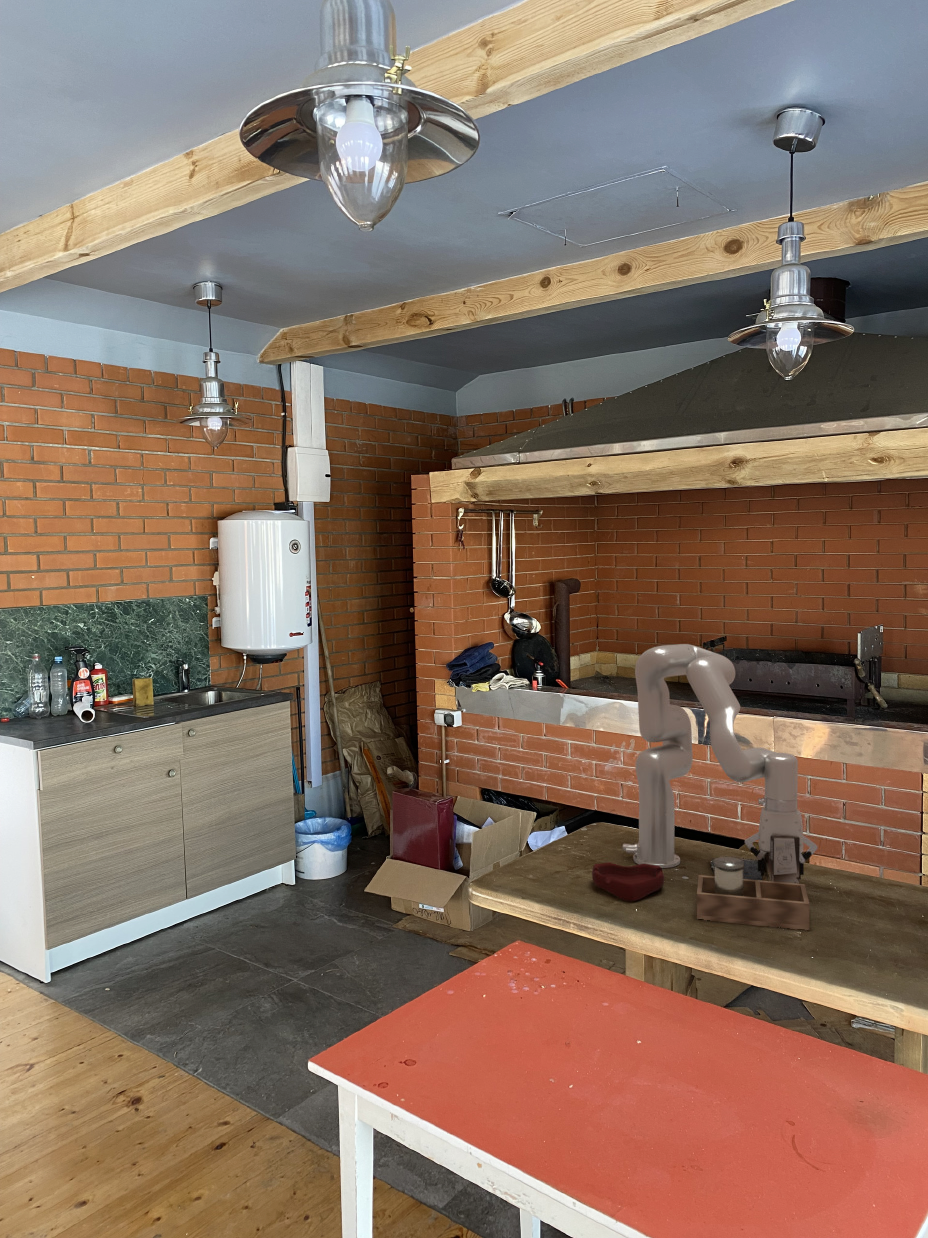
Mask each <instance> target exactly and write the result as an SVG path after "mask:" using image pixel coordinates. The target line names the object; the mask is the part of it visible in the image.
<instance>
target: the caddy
mask: <svg viewBox="0 0 928 1238" xmlns="http://www.w3.org/2000/svg"><path fill="white" fill-rule="evenodd" d="M697 880H698V881H697V889H696V920H697V919H704V920H703V921H707V920H710V921H709V922H717V921H718V923H719V922H720V923H729V924H739V925H749V926H759V927H767V926H769V927H768V928H777V927H781V928H780V929H787V928H790V930H797V929H805V930H804V931H807V930H809V931H810V901H809V896H808V892H807V889H806V884H804V883H799V884H796V883H784V882H773V881H762V879H761V880H760V879H746V878H743V896H734V895H723V894H715V875H714V876H713V875H712V876H711V875H702V874H701V875H700V874H699V875H698V879H697Z"/></svg>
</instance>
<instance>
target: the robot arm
mask: <svg viewBox="0 0 928 1238" xmlns="http://www.w3.org/2000/svg"><path fill="white" fill-rule="evenodd" d="M634 670H635V671H634V674H635V675H634V676H635V682H636V689H637V709H638V710H637V711H638V727H639V728H638V729H639V733H640V736H641V738H642V739H643V740H644V741H646V742H647V743H648V742H649V743H660V742H662V745H657V746H654V747H649V748H646V749H644V750H642V751H641V752H640V753H639V754H638V756H637V757H636V760H635V766H634V767H635V774H636V779H637V785H638V842H637V843H634V844H630V843H622V851H624V852H625V853H629V854H633V856H632V857H633V862H634V863H636V865H639V864H650V865H657V866H660V867H661V868H662V869H668V868H669V869H670V868H674V867H677V866H678V865H680V864H681V858H680V856H679V855H678V854H676V853H675V795H674V791H673V789H672V786H671V782H670V781H671V780H674V779H677V778H678V779H679V778H682V777H684V776H686V775H688V773H690V771H691V768H692V766H693V761H694V760H693V738H692V737H693V736H692V735H693V734H692V723H691V718H690V716H689V714H688V713H687V711H686V710H685V709H684V708H683V707H681V706H680V705H678V704H677V705H676V704H671V703H670V690H669V687H668V685H667V682H666V680H665V678H668V677H677V676H686V678H687V681H688V683H689V685H690V687H691V689H692V691H693V692H694V694H695V695H696V696H695V697H696V698H697V700H698V701H699V703H700V705H701V706H702V708H703V711H704V712H705V714H706V716H707V718H708V720H709V737H710V744H711V749H712V752H713V755H714V757H715V758H716V759H717V761H718V763H719V766H720V767H721V769H722V770H723V772H724V773H725V775H726V776H727V777H728V778H729V779H731V780H732V781H733V782H736V783H747V782H750V781H755V780H759V779H764V797H762V798H758V805H762V806H763V807H762V808H761V811H760V816H759V824H758V831H757V832H756V833H754V834H752V835H751V836H749V837H746V838H745V840H744V844H745V845H746V847H747V848H748V850H749V851H750V852H751V853H752V855H753V856H754V857H755V858H756V860H757V872H760V873H759V874H760V877H762V876H764V858H763V856H764V855H765V853H766V852H770V837H771V836H792V837H799V838H800V852H799V880H802V877H801V876H804V873H805V872H804V871H805V870H804V869H805V867H804V865H805V863H806V861H808V860H809V859H810V858H811V857H812V855H813V854H814V853H815V852H816V851H817V849H818V845H817V844H816V843H815V842H813V841H812V840H811V839H809V838H808V837H807V836H805V835H804V827H803V824H804V823H803V818H802V813H801V810H799V809H798V800H799V799H798V791H799V790H798V788H799V786H798V785H799V784H798V782H799V781H798V780H799V773H798V772H799V762H798V761H799V760H798V759H797V757H796V756H795V755H794V754H791V753H786V752H778V751H777V752H776V751H773V750H769V749H767V748H763V747H757V746H756V747H751V748H746V749H742V746H741V745H740V744H739V741H738V740H737V738H736V735H735V730H734V724H735V719H736V718H737V716H738V714H739V713H740V710H741V705H740V703H739V700H738V699H737V696H736V695H735V693H734V692H733V690H732V688H731V687H730V685H731V684H732V683H733V682H734V680H735V678H736V668H735V665H734V664H733V662H732V661H731V660H730V659H729V658H727V657H726V656H724V655H721V654H720V653H717V652H713V651H710V650H707V649H704V648H702V647H699V646H696V645H692V644H689V643H683V644H682V643H679V644H667V645H666V644H665V645H657V646H654V647H652V648H651V647H650V648H649V649H646V650H645V651H644V652H643V653H642V654H641V655H640V656H639V657H638V659H637V661H636V664H635V669H634ZM756 841H758V846H759V849H758V848H757V847H755V845H754V844H753V843H754V842H756ZM804 845H806V846H807V847H809V848H808V849H807V850H806V851H804Z"/></svg>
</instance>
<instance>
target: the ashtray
mask: <svg viewBox="0 0 928 1238" xmlns="http://www.w3.org/2000/svg"><path fill="white" fill-rule="evenodd" d="M591 877H592V883H594V885H595V886H596V887H597V888H599V889H601V890H604V891H605V892H608V893H609V894H612V895H614V896H615V897H617V898H619V899H621V900H623V901H625V900H626V901H625V902H629V901H633V902H636V900H637V901H640V900H641V899H643V898H645V897H647V896H648V895H650V894H652V893H654V892H657V891H659V890H660V889H661V888H662V887H663V885H664V883H665V875H664V870H663V868H661V867H660V866H657V865H650V864H635V865H632V866H625V865H619V864H616V863H613V862H603V863H595V864H593V866H592V871H591Z"/></svg>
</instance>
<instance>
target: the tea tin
mask: <svg viewBox="0 0 928 1238" xmlns="http://www.w3.org/2000/svg"><path fill="white" fill-rule="evenodd" d="M713 866H714V877H715V894H723V895H734V896H743V879H744V869H745V861H744V860H743V859H740V858H737V857H733V856H732V857H731V856H720V857H716V858H714V859H713Z"/></svg>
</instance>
